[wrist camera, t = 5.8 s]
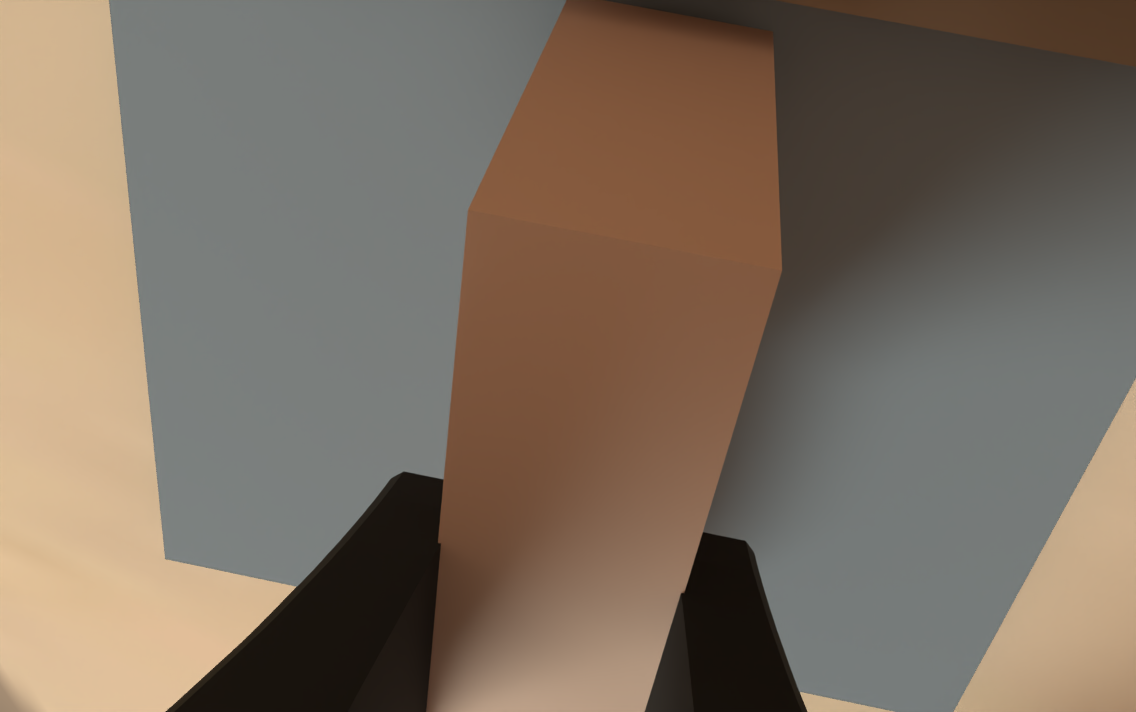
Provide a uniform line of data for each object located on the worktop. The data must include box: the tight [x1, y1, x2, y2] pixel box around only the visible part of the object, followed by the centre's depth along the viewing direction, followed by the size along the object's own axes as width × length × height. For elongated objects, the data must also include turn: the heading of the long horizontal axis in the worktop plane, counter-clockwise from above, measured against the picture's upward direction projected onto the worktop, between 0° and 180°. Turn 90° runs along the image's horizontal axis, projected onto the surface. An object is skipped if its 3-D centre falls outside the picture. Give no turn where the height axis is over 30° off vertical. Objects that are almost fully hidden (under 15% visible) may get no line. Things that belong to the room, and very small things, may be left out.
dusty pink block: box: [426, 0, 782, 712], centre depth 11 cm, size 9×2×4 cm, turn 172°
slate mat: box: [109, 0, 1136, 712], centre depth 13 cm, size 10×12×1 cm
